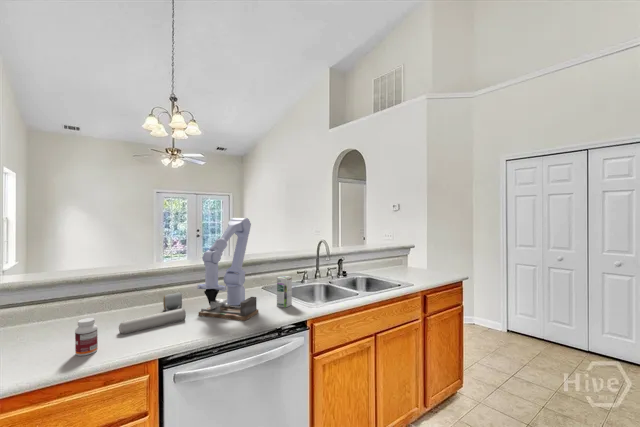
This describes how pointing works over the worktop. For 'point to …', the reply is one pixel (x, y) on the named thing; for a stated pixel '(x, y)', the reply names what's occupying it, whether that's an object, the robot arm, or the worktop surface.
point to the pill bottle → (86, 337)
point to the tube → (152, 321)
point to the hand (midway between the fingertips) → (211, 305)
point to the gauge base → (234, 311)
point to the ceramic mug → (172, 301)
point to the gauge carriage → (219, 304)
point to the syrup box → (284, 291)
